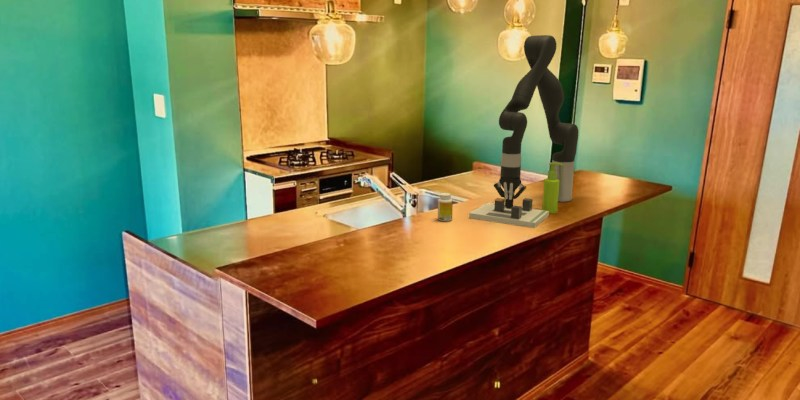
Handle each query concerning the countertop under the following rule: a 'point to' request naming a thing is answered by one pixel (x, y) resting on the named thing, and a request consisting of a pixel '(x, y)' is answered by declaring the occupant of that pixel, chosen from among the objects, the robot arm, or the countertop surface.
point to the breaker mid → (499, 204)
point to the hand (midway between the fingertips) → (508, 208)
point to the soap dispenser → (551, 190)
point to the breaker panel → (509, 216)
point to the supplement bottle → (445, 207)
